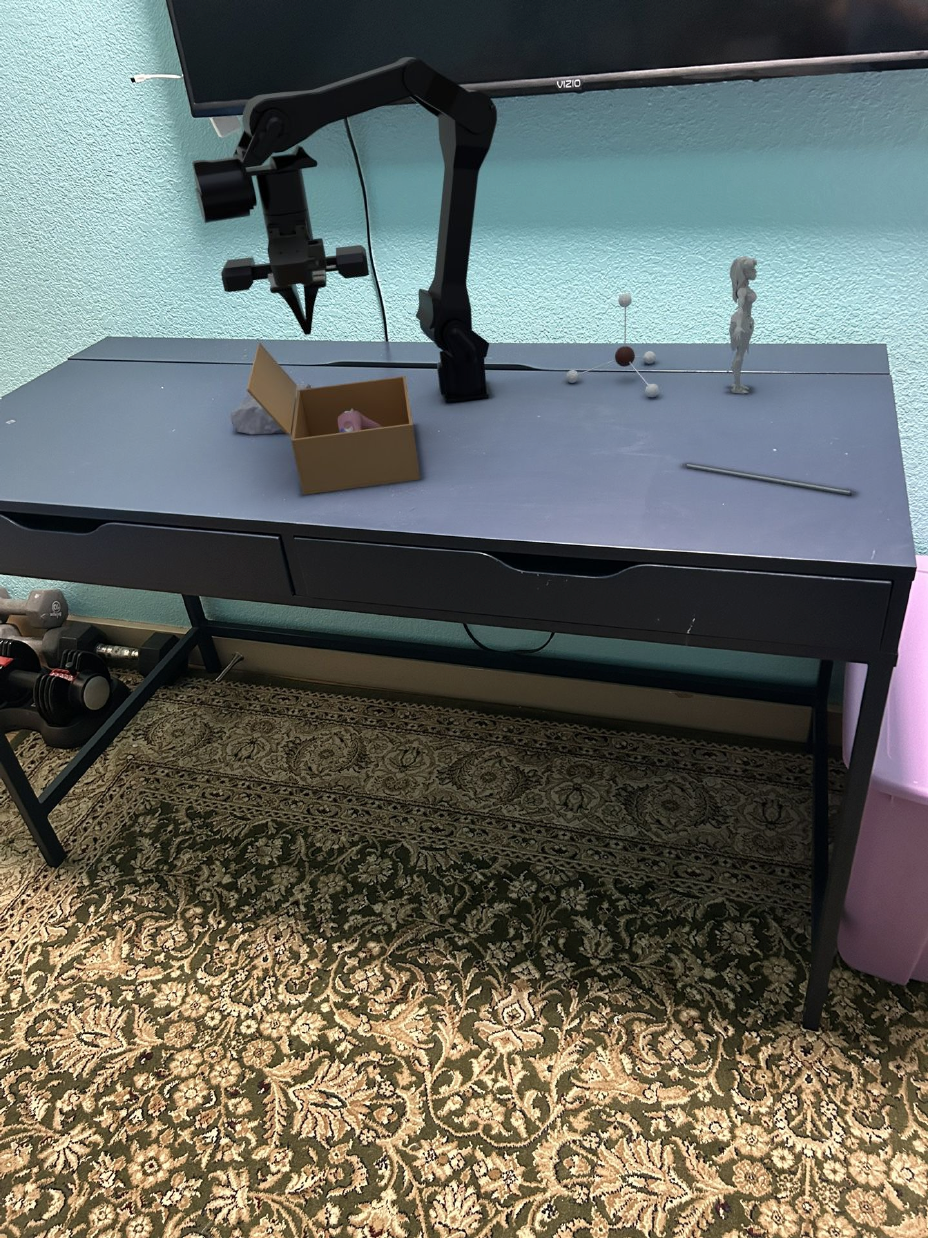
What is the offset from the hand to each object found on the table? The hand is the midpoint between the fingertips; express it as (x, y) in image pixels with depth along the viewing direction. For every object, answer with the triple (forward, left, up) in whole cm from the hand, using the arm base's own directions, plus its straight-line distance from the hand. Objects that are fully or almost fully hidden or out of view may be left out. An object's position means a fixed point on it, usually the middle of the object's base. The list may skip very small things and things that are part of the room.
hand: (308, 333), depth 122 cm
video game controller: (-6, +13, -13) cm, 19 cm away
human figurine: (-58, +7, -14) cm, 60 cm away
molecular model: (-45, 0, -14) cm, 47 cm away
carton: (-5, +13, -13) cm, 19 cm away
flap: (+4, +13, -2) cm, 14 cm away
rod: (-52, +33, -14) cm, 63 cm away
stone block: (+8, -5, -14) cm, 17 cm away
